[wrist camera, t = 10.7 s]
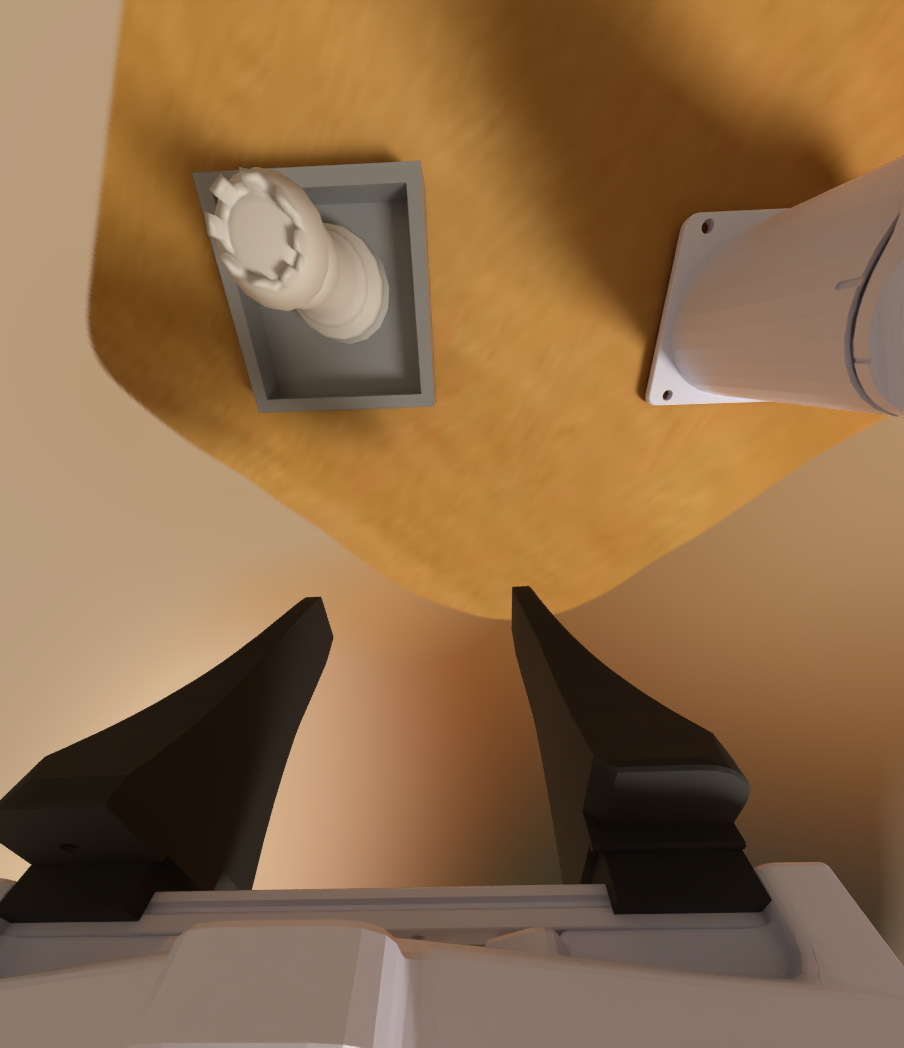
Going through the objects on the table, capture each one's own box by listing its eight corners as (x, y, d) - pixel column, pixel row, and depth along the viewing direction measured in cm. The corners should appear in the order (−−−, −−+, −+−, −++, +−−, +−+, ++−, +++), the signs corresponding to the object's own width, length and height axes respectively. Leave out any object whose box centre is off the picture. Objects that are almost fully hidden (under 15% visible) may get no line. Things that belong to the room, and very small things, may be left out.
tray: (424, 185, 14) (420, 160, 13) (435, 402, 18) (434, 406, 17) (223, 195, 15) (191, 172, 13) (277, 407, 19) (258, 412, 17)
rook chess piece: (278, 264, 15) (124, 176, 8) (359, 210, 15) (266, 61, 7) (332, 360, 17) (245, 358, 10) (407, 318, 16) (371, 281, 9)
